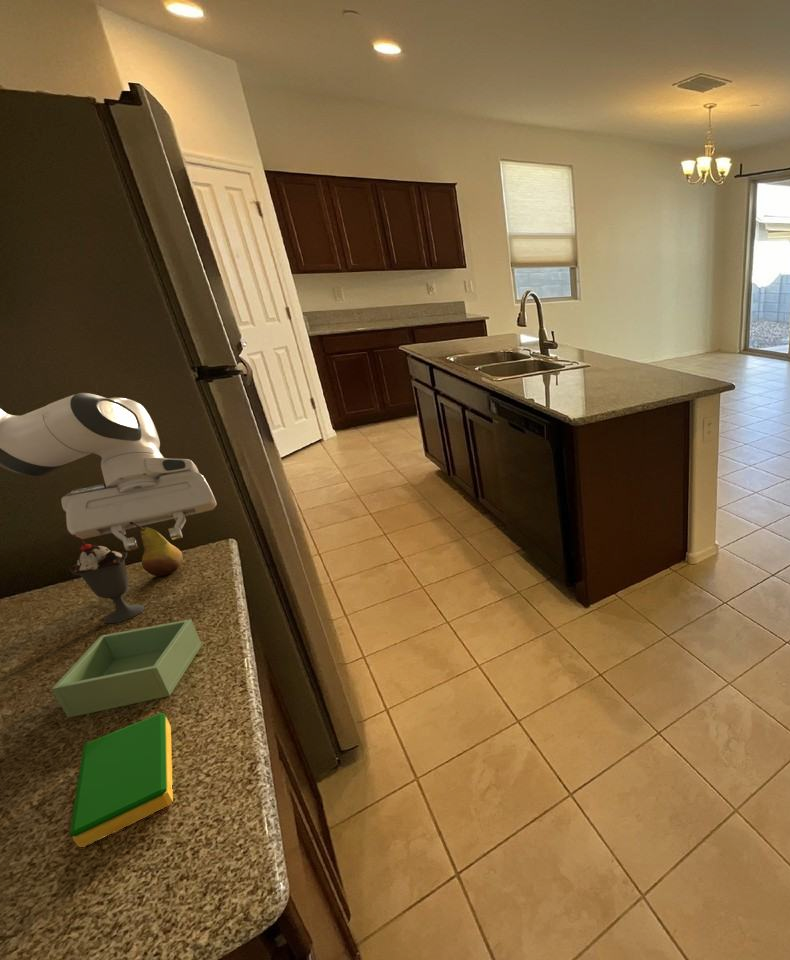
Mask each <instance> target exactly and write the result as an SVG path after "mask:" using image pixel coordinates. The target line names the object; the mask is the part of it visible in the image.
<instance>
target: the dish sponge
mask: <svg viewBox="0 0 790 960" xmlns="http://www.w3.org/2000/svg"><path fill="white" fill-rule="evenodd" d="M172 754H173V753H172V726H171V723H170V722H169V719H168V717H167V716H166V713H165V712H159V713H157V714H155V715H152V716H150V717H148V718H145V719H142V720H140V721H138V722H135V723H132V724H130V725H127V726H125V727H123V728H120V729H118V730H115V731H113V732H110V733H108V734H105V735H103V736H101V737H98V738H95V739H93V740H91V741H88V742H86V743H85V744H84V745H83V746H82V753H81V759H80V765H79V772H78V777H77V785H76V791H75V797H74V802H73V810H72V817H71V823H70V824H71V825H70V828H69V829H70V830H69V835H70V837H72V840H73V841H74V843H75V844H76V845H77V847H78V846H79V847H82V846H83V847H84V846H86V845H88V844H89V843H92V842H93V841H95V840H97V839H99V838H101V837H103V836H105V835H108V834H111V833H113V832H114V831H117V830H119V829H121V828H123V827H126V826H129V825H131V824H132V823H135V822H136V821H138V820H140V819H141V818H144V817H146V816H148V815H150V814H153V813H154V812H156V811H158V810H159V809H162V808H164V807H167V806H169V805H170V804H171V803H172V802H173V803H174V794H173V793H174V790H173V789H172V785H173V757H172V756H173V755H172ZM173 803H172V804H173ZM172 804H171V805H172ZM171 805H170V806H171ZM170 806H169V807H170ZM167 808H168V807H167ZM153 815H154V814H153ZM135 824H136V823H135ZM131 826H132V825H131ZM129 827H130V826H129ZM79 847H78V848H79Z"/></svg>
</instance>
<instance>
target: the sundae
mask: <svg viewBox="0 0 790 960" xmlns="http://www.w3.org/2000/svg"><path fill="white" fill-rule="evenodd" d="M70 536H71V538H74V539H78V540H80V541H81V542H82V544H83V545H81V547H79V550H80V552H81V553H80V554H79V556H78V557H77V561H76V563H75V564H73V565H72V566H70V567H69V568H68V571H69V572H70V573H72V575H74V576H80V578H82V580H83V581H84V582H85V583H86V585H87V586H88V587H89V589H90V590H91V591H92V592H93V593H94V594H95V595H96V597H98V598H102V599H109V600H111V601H113V603H114V607H115V609H114V610H113V611H111V612H109V613H108V614H107V615H106V616H105V617H104V620H103V621H104V622H105V623H106V624H117V623H122V622H126V621H128V620H131V619H133V618H135V617H136V616H139V615H140V614H141V613H142V612H144V610H145V605H144V604H141V603H134V604H127V602H125V600H124V597H123V595H124V594H125V592H126V591H127V590H128V589H129V587H130V580H129V574H128V570H127V566H126V562H125V561H126V558H127V557H128V554H129V553H128V551H115V550H110V549H109V548H108V547H107V546H103V545H100V544H99V545H98V544H90V543H86V542H85V540H84V539H81V538H79V537H77V536H76V535H72V534H71V535H70Z"/></svg>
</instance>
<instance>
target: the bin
mask: <svg viewBox="0 0 790 960" xmlns="http://www.w3.org/2000/svg"><path fill="white" fill-rule="evenodd" d="M202 646H203V644H202V642H201V639H200V637H199V634H198V632H197V629H196V627H195V625H194V623H193V620H192V618H189V619H184V620H178V621H174V622H168V623H162V624H157V625H152V626H146V627H141V628H135V629H130V630H124V631H119V632H114V633H113V632H112V633H108V634H102V635H100V636H99V637H98V638H97V639H96V640H95V641H94V642H93V643H92V645H91V646H90V647H88V649H87V650H85V652H84V653H83V654H82V655H81V656H80V658H78V659H77V661H76V662H75V663H74V664H73V665H72V666H71V667H70V668H69V669H68V670H67V671H66V672H65V673H64V675H63V676H62V677H60V679H59V680H58V681H57V682H56V683H55V684H54V685H53V686H52V687H51V692H52V693H53V695H54V697H55V698H56V700H57V702H58V704H59V705H60V707H61V709H62V710H63V712H64V714H65V716H66V717H67V718H68V719H70V718H74V717H79V716H84V715H88V714H93V713H96V712H102V711H105V710H110V709H115V708H120V707H126V706H130V705H133V704H139V703H143V702H147V701H152V700H157V699H162V698H166V697H170V696H171V695H172V693H173V692H174V691H175V689H176V687H177V685H178V684H179V682H180V680H181V679H182V677H183V676H184V674H185V672H186V671H187V670H188V668H189V666H190V665H191V663H192V662H193V661H194V659H195V657H196V656H197V654H198V653H199V650H200V649H201V647H202Z"/></svg>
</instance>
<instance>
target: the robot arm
mask: <svg viewBox="0 0 790 960" xmlns="http://www.w3.org/2000/svg"><path fill="white" fill-rule="evenodd" d="M160 441H161V440H160V438H159V434H158V431H157V428H156V426H155V424H154V421H153V419H152V417H151V415H150V414H149V412H148V410H147V409H146V408H145V407H144V405H142V404H141V403H139V402H137V401H136V400H134V399H133V400H132V399H129V398H125V397H104V396H102V395H97V394H95V393H90V392H89V393H88V392H78V393H76V394H72V395H69V396H66V397H64V398H61V399H57V400H56V401H53V402H50V403H49V404H47V405H45V406H42V407H40V408H37V409H35V410H32V411H30V412H29V411H28V412H27V413H24V414H21V415H16V414H15V415H13V414H9V413H7V412H6V411H4V410H3V409H2V408H1V407H0V467H1V468H3V469H4V470H7V471H10V472H13V473H16V474H19V475H20V474H21V475H26V476H33V477H42V476H47V475H49V474H51V473H53V472H55V471H57V470H59V469H61V468H63V467H65V466H67V465H68V464H70V463H72V462H74V461H76V460H79V459H83V458H84V457H86V456H88V455H91V454H93V455H94V454H95V455H98V456H100V457H101V462H100V469H101V473H102V476H103V481H104V483H101V484H96V485H92V486H89V487H88V486H87V487H83V488H80V487H79V488H76V489H75V488H74V489H71V490H70V492H68V493H66V494H65V495H64V496H62V497H61V500H60V502H61V503H60V504H61V507H62V510H63V512H65V520H66V521H65V522H66V528H67V531H68V533H70V534H71V535H76V536H77V537H79V538H81V539H82V540H85V539H90V538H94V537H98V536H103V535H108V534H112V535H113V536H114V537H115V538H117V539H118V540H120V541H121V542H122V544H123V547H124V550H126V552H129V551H133V550H137V549H139V546H138V541H137V539H136V538H135V537H134V536H132V537H127V536H125V535H126V534H127V533H126V530H130V529H135V528H138V527H137V526H135V525H132V524H130V522H133V523H135V524H137V525H138V526H140V527H143V526H147V525H151V524H156V523H161V522H165V521H169V520H175V524H174V526H173V527H170V528H168V533H169V537H170V539H171V540H172V541H174V540H179V539H182V538H184V537H183V532H182V529H183V527H184V526H185V524H186V522H187V518H186V517H187V516H192V515H196V514H201V513H205V512H209V511H213V510H214V509H215V508H216V507H217V500H216V497H215V495H214V493H213V491H212V489H211V487H210V485H209V483H208V482H207V480H206V477H204V475H202V473H200V471H199V468H198V467H197V465H196V464H195V463H194V462H193V461H192V460H191V459H187V458H167V457H165V456H163V454H162V453H161V451H160V447H161V442H160Z"/></svg>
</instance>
